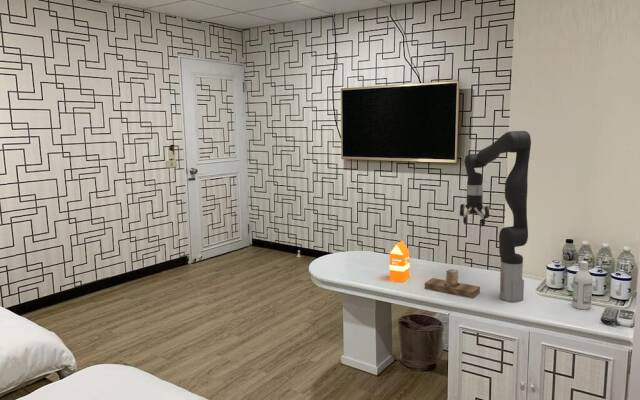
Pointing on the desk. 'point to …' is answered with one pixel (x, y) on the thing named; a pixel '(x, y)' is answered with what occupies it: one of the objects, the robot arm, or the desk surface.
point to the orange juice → (399, 263)
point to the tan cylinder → (452, 278)
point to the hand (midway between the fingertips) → (474, 225)
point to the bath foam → (582, 287)
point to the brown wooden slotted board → (452, 288)
